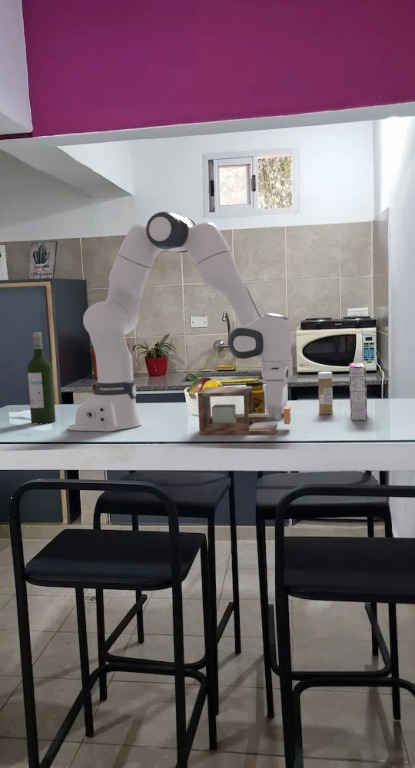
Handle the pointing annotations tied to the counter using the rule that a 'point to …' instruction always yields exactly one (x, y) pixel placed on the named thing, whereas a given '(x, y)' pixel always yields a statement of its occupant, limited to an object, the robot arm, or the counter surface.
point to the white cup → (271, 409)
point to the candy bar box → (358, 391)
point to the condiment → (257, 399)
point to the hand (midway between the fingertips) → (278, 418)
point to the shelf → (242, 424)
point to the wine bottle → (40, 385)
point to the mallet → (228, 414)
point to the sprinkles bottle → (325, 392)
